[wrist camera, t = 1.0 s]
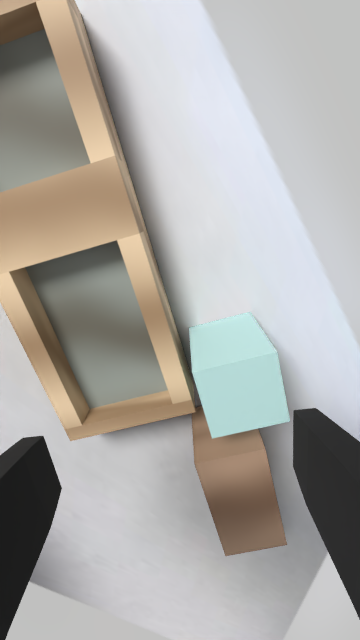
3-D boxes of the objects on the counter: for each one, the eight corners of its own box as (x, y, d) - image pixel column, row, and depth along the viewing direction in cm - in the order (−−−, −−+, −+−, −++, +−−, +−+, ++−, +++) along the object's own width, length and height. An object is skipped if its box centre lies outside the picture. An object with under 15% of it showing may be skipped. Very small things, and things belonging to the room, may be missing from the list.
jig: (193, 384, 18) (195, 412, 16) (85, 409, 19) (70, 441, 16) (79, 11, 12) (53, -41, 10) (-73, 68, 13) (-135, 33, 10)
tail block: (261, 365, 18) (290, 421, 13) (204, 379, 18) (212, 438, 13) (250, 311, 17) (277, 351, 12) (189, 327, 17) (191, 372, 12)
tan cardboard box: (265, 477, 21) (287, 544, 17) (216, 487, 21) (225, 555, 17) (246, 394, 19) (265, 448, 14) (191, 407, 19) (194, 463, 15)
